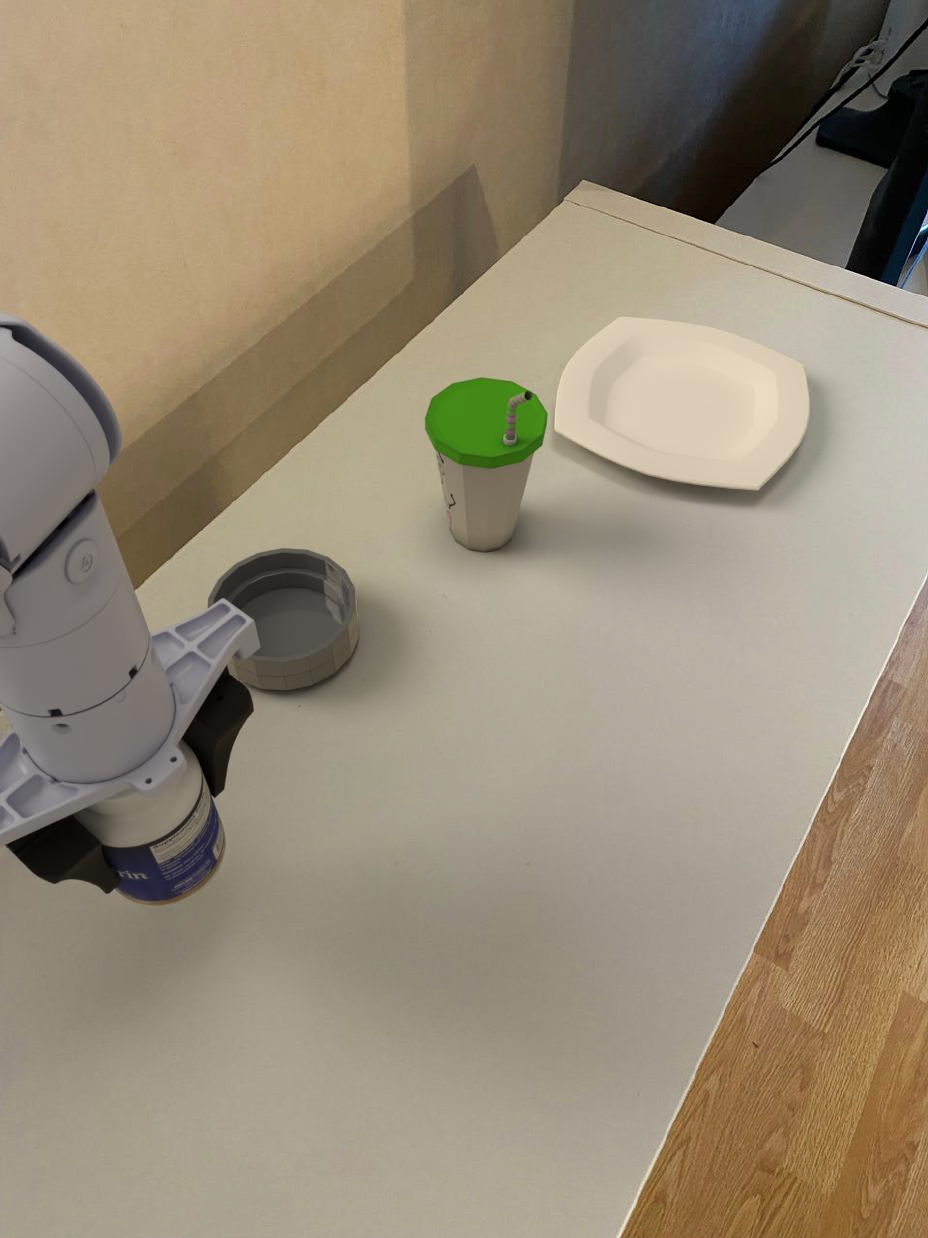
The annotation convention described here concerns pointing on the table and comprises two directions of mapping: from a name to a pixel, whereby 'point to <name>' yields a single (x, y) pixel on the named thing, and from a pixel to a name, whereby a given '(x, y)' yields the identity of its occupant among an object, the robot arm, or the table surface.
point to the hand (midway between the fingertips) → (153, 828)
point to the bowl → (292, 616)
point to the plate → (684, 403)
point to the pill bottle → (160, 838)
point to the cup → (484, 455)
